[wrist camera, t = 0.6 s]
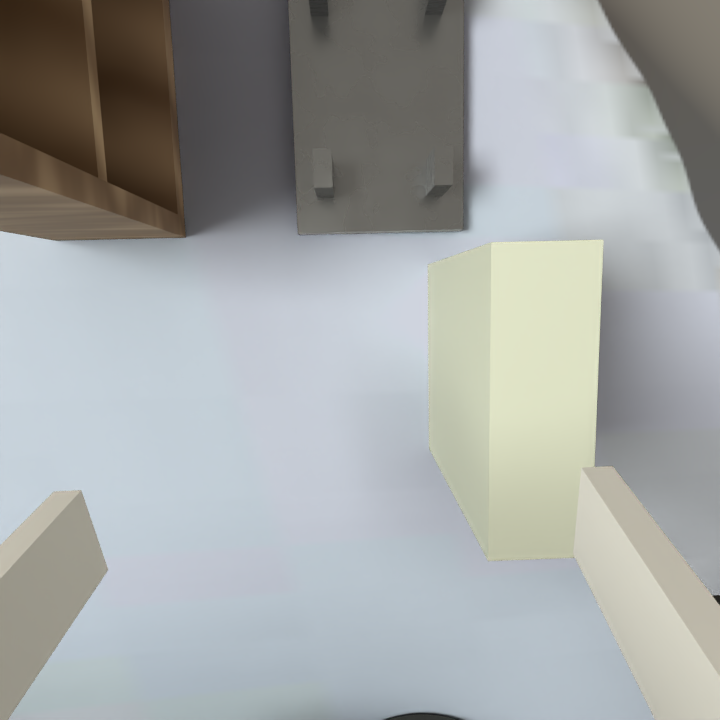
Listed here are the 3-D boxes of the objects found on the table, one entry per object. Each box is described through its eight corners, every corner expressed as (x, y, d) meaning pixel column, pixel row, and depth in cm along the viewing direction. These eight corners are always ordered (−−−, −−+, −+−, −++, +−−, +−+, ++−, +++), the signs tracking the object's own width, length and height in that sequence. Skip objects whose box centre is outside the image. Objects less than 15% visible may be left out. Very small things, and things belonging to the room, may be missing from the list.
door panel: (503, 446, 33) (616, 556, 19) (429, 448, 33) (487, 560, 19) (506, 262, 32) (631, 239, 18) (427, 264, 31) (491, 242, 18)
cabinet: (185, 237, 31) (-37, 161, 13) (54, 240, 31) (-355, 167, 13) (165, -48, 29) (-135, -611, 11) (24, -47, 28) (-519, -616, 11)
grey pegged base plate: (459, 231, 31) (475, 222, 27) (299, 235, 31) (292, 226, 27) (460, -51, 29) (478, -105, 25) (287, -49, 29) (278, -104, 25)
